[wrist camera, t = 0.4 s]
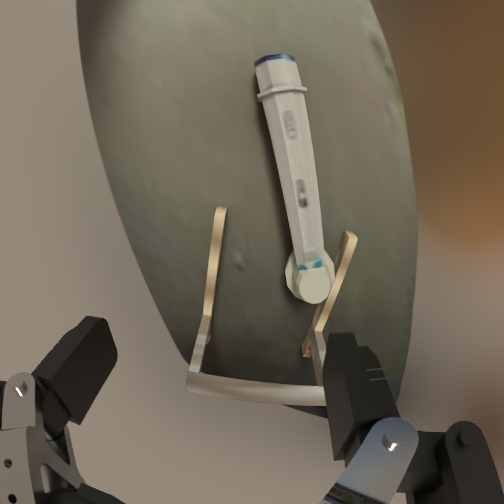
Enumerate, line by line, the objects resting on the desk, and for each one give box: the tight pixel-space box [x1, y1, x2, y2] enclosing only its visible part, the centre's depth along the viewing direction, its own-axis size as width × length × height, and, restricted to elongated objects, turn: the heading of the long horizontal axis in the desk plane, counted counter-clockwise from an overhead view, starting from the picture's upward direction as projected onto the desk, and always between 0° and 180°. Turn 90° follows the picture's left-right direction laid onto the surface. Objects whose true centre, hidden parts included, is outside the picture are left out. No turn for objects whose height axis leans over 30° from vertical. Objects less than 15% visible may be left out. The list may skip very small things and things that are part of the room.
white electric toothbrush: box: [254, 54, 335, 304], centre depth 26 cm, size 5×7×25 cm
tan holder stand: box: [186, 206, 358, 406], centre depth 28 cm, size 18×16×12 cm
